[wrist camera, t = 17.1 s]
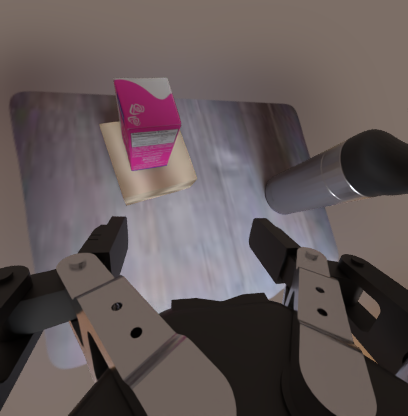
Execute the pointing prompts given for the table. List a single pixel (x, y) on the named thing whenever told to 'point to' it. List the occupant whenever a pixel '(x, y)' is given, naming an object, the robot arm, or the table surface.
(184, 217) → the table surface
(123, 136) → the supplement box
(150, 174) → the birch block
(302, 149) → the table surface
